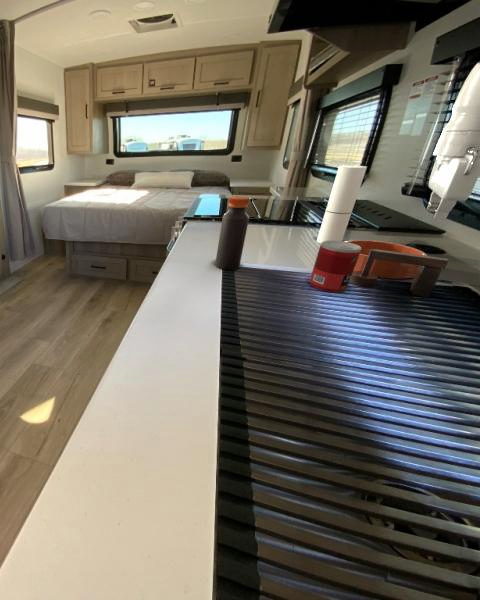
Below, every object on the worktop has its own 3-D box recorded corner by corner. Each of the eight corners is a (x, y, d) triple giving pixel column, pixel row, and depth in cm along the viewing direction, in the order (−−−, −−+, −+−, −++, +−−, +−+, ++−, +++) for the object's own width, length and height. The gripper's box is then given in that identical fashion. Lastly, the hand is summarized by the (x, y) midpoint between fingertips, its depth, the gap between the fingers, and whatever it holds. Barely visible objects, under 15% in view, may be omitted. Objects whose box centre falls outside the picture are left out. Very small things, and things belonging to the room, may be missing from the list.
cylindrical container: (340, 240, 118) (365, 165, 107) (341, 246, 113) (368, 167, 101) (316, 238, 121) (338, 165, 110) (316, 243, 116) (339, 167, 105)
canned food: (347, 295, 80) (363, 251, 75) (308, 288, 84) (321, 247, 79) (345, 283, 86) (360, 242, 81) (308, 278, 90) (320, 238, 85)
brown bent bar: (428, 291, 81) (445, 256, 77) (431, 299, 77) (450, 263, 73) (349, 277, 89) (361, 245, 85) (348, 284, 86) (361, 251, 81)
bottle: (241, 271, 96) (256, 200, 87) (216, 270, 97) (228, 200, 88) (236, 263, 101) (249, 195, 93) (213, 262, 103) (223, 195, 94)
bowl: (414, 264, 96) (422, 246, 94) (422, 286, 83) (432, 265, 81) (336, 253, 107) (341, 236, 104) (333, 271, 93) (339, 252, 91)
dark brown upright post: (426, 291, 81) (439, 264, 77) (428, 297, 78) (442, 270, 75) (409, 288, 82) (421, 262, 79) (411, 294, 79) (423, 267, 76)
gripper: (505, 149, 58) (466, 227, 64) (476, 144, 73) (446, 208, 79) (455, 149, 62) (422, 223, 68) (436, 144, 76) (411, 205, 82)
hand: (435, 215), depth 73 cm, fingers open, 8 cm apart
